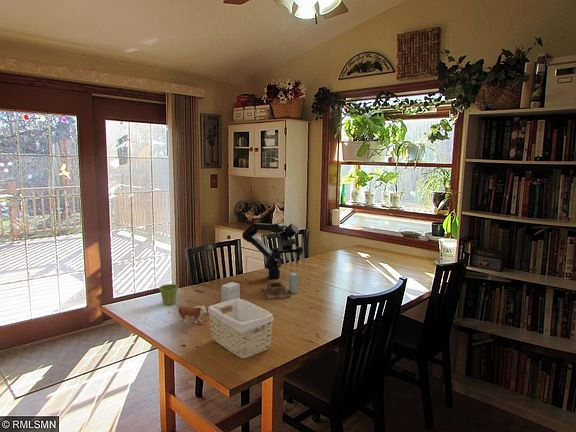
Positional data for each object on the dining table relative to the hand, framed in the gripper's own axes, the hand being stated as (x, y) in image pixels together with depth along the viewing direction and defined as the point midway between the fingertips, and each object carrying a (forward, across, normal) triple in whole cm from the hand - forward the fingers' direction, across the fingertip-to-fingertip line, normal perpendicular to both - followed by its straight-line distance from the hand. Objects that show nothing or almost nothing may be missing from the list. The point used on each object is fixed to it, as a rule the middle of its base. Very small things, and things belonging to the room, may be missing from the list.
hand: (289, 264), depth 231 cm
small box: (+25, -36, -6) cm, 44 cm away
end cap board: (+16, -10, +3) cm, 19 cm away
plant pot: (+19, -66, 0) cm, 69 cm away
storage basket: (+57, -38, -38) cm, 78 cm away
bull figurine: (+38, -55, -19) cm, 70 cm away
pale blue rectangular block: (+16, 0, +3) cm, 16 cm away
